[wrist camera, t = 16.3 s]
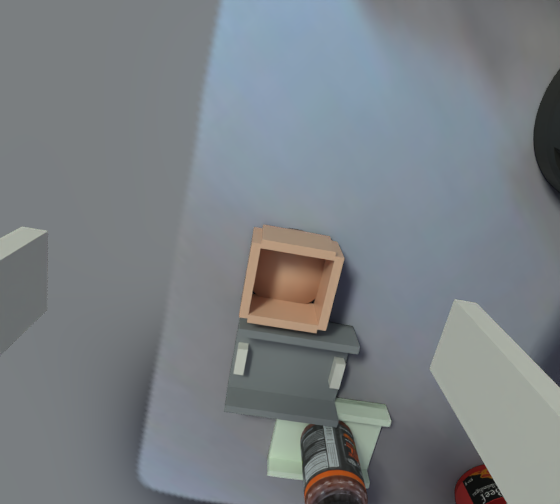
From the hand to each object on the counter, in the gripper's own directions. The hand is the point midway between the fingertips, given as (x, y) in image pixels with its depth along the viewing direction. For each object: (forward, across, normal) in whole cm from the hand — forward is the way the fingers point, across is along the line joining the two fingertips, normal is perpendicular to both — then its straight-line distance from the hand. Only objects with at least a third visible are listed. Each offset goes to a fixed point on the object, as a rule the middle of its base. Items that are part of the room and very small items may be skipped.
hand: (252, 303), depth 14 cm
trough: (+27, +12, -28) cm, 41 cm away
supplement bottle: (+26, +12, -28) cm, 40 cm away
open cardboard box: (+27, +4, -9) cm, 28 cm away
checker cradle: (+27, +6, -19) cm, 33 cm away
